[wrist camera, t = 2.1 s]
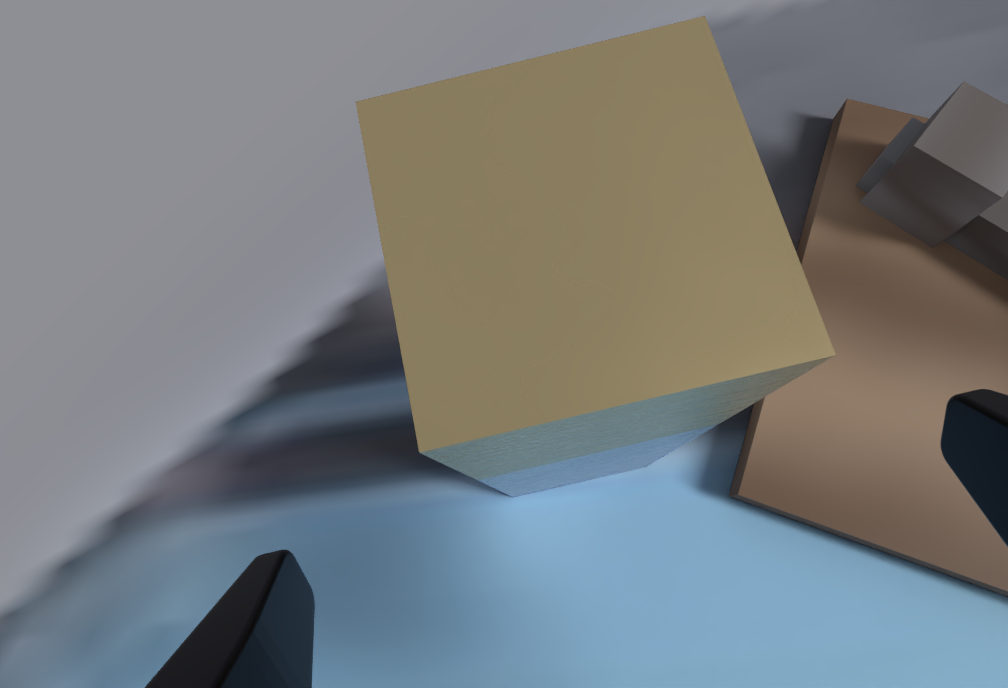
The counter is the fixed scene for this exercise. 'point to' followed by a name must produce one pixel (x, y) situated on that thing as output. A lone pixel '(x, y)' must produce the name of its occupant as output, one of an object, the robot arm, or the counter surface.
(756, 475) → the shaft board
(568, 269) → the block
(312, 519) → the counter surface
